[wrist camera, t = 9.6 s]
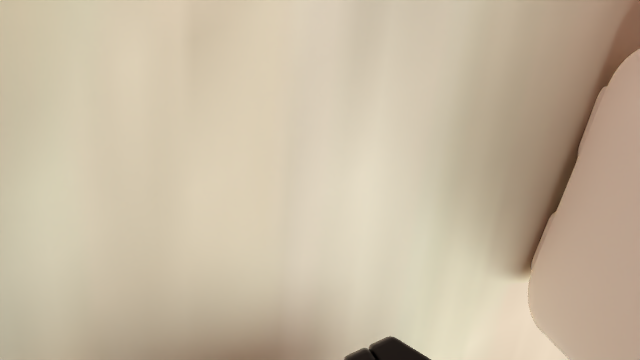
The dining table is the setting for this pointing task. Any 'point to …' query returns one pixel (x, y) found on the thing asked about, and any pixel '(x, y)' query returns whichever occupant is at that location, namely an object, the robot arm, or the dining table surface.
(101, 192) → the dining table surface
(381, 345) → the robot arm
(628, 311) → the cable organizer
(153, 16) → the dining table surface
